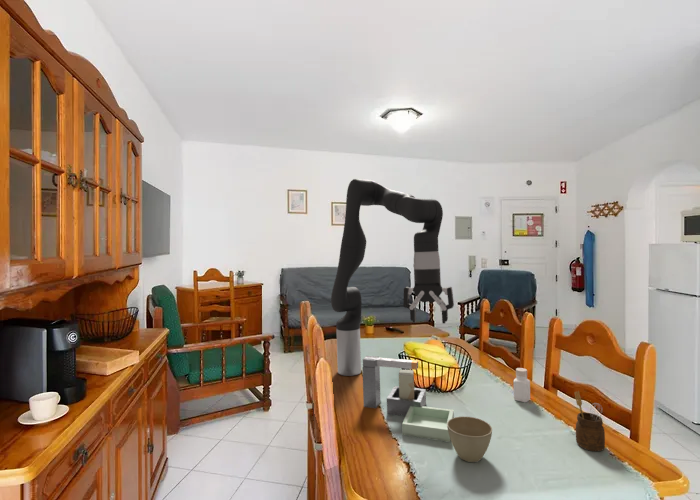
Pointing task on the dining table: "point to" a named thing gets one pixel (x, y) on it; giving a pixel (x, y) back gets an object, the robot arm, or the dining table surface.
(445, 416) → the tray
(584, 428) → the utensil holder
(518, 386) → the white pill bottle
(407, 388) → the box
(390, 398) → the collar
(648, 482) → the dining table surface
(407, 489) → the dining table surface
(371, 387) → the post
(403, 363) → the bar
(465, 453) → the flower pot
